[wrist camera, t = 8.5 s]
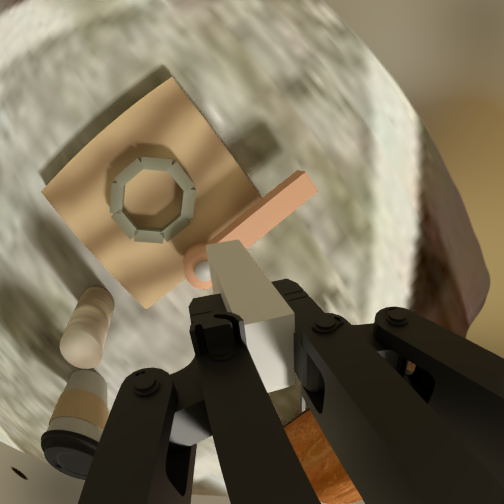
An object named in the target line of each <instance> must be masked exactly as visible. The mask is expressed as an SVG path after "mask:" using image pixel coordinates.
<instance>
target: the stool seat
mask: <svg viewBox="0 0 504 504" xmlns="http://www.w3.org/2000/svg"><path fill="white" fill-rule="evenodd" d="M41 192H42V193H43V195H44V196H45V197H46V199H47V200H48V201H49V202H50V204H51V205H52V206H53V208H54V209H55V210H56V211H57V213H58V214H59V215H60V216H61V217H62V219H63V220H64V221H65V222H66V224H67V225H68V226H69V227H70V228H71V230H72V231H73V232H74V233H75V234H76V235H77V237H78V238H79V239H80V240H81V241H82V242H83V244H84V245H85V246H86V247H87V248H88V249H89V250H90V251H91V253H92V254H93V255H94V256H95V257H96V258H97V259H98V260H99V261H100V263H101V264H102V265H103V266H104V267H105V268H106V269H107V270H108V271H109V272H110V273H111V274H112V275H113V276H114V277H115V278H116V280H117V281H118V282H119V283H120V284H121V285H122V286H123V287H124V288H125V289H126V290H127V291H128V292H129V293H130V294H131V295H132V296H133V297H134V298H135V299H136V300H137V301H138V302H139V303H140V304H141V305H142V306H143V307H144V308H145V309H146V310H147V309H148V308H149V307H150V306H152V305H153V304H154V303H155V302H157V301H158V300H159V299H160V298H161V297H163V296H164V295H165V294H166V293H168V292H169V291H170V290H171V289H173V288H174V287H175V286H176V285H178V284H179V283H180V282H181V281H183V280H184V279H185V278H186V277H185V274H184V267H183V258H184V255H185V253H186V251H187V250H188V249H189V248H190V247H191V246H193V245H195V244H198V243H208V242H209V241H210V240H211V239H213V238H214V237H215V236H216V235H217V234H219V233H220V232H221V231H222V230H224V229H225V228H226V227H227V226H228V225H230V224H231V223H232V222H233V221H235V220H236V219H237V218H238V217H239V216H241V215H242V214H243V213H244V212H246V211H247V210H248V209H249V208H251V207H252V206H253V205H254V204H256V203H257V202H258V201H259V200H261V199H262V197H261V196H260V194H259V193H258V192H257V190H256V189H255V187H254V186H253V184H252V183H251V182H250V180H249V179H248V177H247V176H246V175H245V173H244V172H243V170H242V169H241V168H240V166H239V165H238V164H237V162H236V161H235V159H234V158H233V157H232V155H231V154H230V153H229V151H228V150H227V148H226V147H225V146H224V144H223V143H222V142H221V140H220V139H219V138H218V136H217V135H216V134H215V132H214V131H213V129H212V128H211V127H210V125H209V124H208V123H207V121H206V120H205V119H204V117H203V116H202V115H201V114H200V112H199V111H198V110H197V108H196V107H195V106H194V104H193V103H192V102H191V100H190V99H189V98H188V96H187V95H186V94H185V93H184V91H183V90H182V89H181V87H180V86H179V85H178V84H177V82H176V81H175V80H174V78H173V77H171V78H169V79H168V80H166V81H165V82H164V83H162V84H161V85H159V86H158V87H157V88H155V89H154V90H152V91H151V92H150V93H148V94H147V95H146V96H144V97H143V98H142V99H140V100H139V101H138V102H136V103H135V104H134V105H133V106H131V107H130V108H129V109H127V110H126V111H125V112H124V113H123V114H121V115H120V116H119V117H118V118H116V119H115V120H114V121H113V122H112V123H111V124H109V125H108V126H107V127H106V128H105V129H104V130H102V131H101V132H100V133H99V134H98V135H97V136H96V137H95V138H94V139H92V140H91V141H90V142H89V143H88V144H87V145H86V146H85V147H84V148H83V149H82V150H81V151H80V152H79V153H78V154H77V155H76V156H74V157H73V158H72V159H71V160H70V161H69V162H68V163H67V164H66V166H65V167H64V168H63V169H62V170H61V171H60V172H59V173H58V174H57V175H56V176H55V177H54V178H53V179H52V180H51V181H50V182H49V184H48V185H47V186H46V187H45V188H44V189H43V190H42V191H41Z"/></svg>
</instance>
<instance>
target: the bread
mask: <svg viewBox="0 0 504 504" xmlns="http://www.w3.org/2000/svg"><path fill="white" fill-rule="evenodd" d="M284 430H285V432H286V434H287V436H288V438H289V440H290V442H291V444H292V446H293V449H294V451H295V453H296V455H297V457H298V459H299V461H300V463H301V465H302V467H303V469H304V471H305V473H306V475H307V477H308V479H309V481H310V483H311V485H312V487H313V489H314V491H315V493H316V495H317V497H318V499H319V501H320V502H323V503H327V504H341V503H344V504H349V503H353V502H357V501H359V500H361V499H362V497H361V496H360V494H359V492H358V491H357V489H356V488H355V486H354V484H353V483H352V481H351V479H350V478H349V476H348V474H347V473H346V471H345V469H344V468H343V466H342V464H341V462H340V461H339V459H338V457H337V456H336V454H335V452H334V451H333V449H332V447H331V445H330V444H329V442H328V440H327V439H326V437H325V435H324V433H323V432H322V430H321V428H320V427H319V425H318V423H317V421H316V420H315V418H314V416H313V414H312V413H311V411H310V410H308V411H307V412H305V413H304V414H302V415H301V416H299V417H298V418H297V419H295V420H294V421H292V422H291V423H290V424H288V425H287V426H285V427H284Z"/></svg>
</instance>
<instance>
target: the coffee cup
mask: <svg viewBox="0 0 504 504" xmlns="http://www.w3.org/2000/svg"><path fill="white" fill-rule="evenodd" d="M108 417H109V412H108V408H107V384H106V382H105V380H104V379H103V378H102V377H101V376H100V375H99V374H98V373H96V372H94V371H91V370H86V369H81V370H77V371H75V372H73V373H72V375H71V376H70V379H69V381H68V383H67V385H66V387H65V389H64V391H63V393H62V394H61V396H60V398H59V400H58V402H57V405H56V407H55V409H54V412H53V414H52V417H51V419H50V421H49V427H48V430H47V432H45V433H44V434H43V435H42V437H41V447H42V450H43V452H44V455H45V458H46V460H47V461H48V462H49V463H50V464H51V465H52V466H53V467H54V468H55V469H57V470H59V471H60V472H62V473H64V474H66V475H69V476H71V477H74V478H78V479H83V480H86V477H87V474H88V471H89V469H90V466H91V463H92V460H93V457H94V454H95V451H96V449H97V446H98V443H99V440H100V438H101V435H102V432H103V430H104V427H105V424H106V422H107V419H108Z"/></svg>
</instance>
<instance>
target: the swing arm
mask: <svg viewBox="0 0 504 504" xmlns="http://www.w3.org/2000/svg"><path fill="white" fill-rule="evenodd" d="M316 192H318V190H317V188H316V187H315V185H314V184H313V182H312V181H311V179H310V178H309V176H308V174H307V173H306V172H304V171H299V170H297V171H296V172H295V173H293V174H292V175H291V176H290V177H288V178H287V179H286V180H284V181H283V182H282V183H281V184H279V185H278V186H277V187H276V188H274V189H273V190H272V191H271V192H269V193H268V194H267V195H266V196H264V197H263V198H262V199H261V200H259V201H258V202H257V203H256V204H254V205H253V206H252V207H251V208H249V209H248V210H247V211H246V212H244V213H243V214H242V215H241V216H239V217H238V218H237V219H236V220H235V221H233V222H232V223H231V224H230V225H228V226H227V227H226V228H225V229H224V230H222V231H221V232H220V233H219V234H217V235H216V236H215V237H214V238H213V239H211V240H210V241H209V242H208V243H198V244H195V245H193V246H191V247H190V248H189V249H188V250H187V251H186V253H185V255H184V258H183V267H184V274H185V277H186V279H187V281H188V282H189V283H190V284H191V285H192V286H194V287H196V288H199V289H209V288H212V282H211V276H210V269H209V263H208V257H207V250H206V245H209V244H215V243H220V242H226V241H232V240H238V239H239V241H240V242H241V243H242V245H243V246H244V247H245V248H246V250H247V249H248V248H249V247H250V246H251V245H253V244H254V243H255V242H256V241H258V240H259V239H260V238H261V237H262V236H264V235H265V234H266V233H267V232H269V231H270V230H271V229H272V228H273V227H275V226H276V225H277V224H278V223H280V222H281V221H282V220H283V219H285V218H286V217H287V216H288V215H289V214H291V213H292V212H293V211H294V210H296V209H297V208H298V207H299V206H300V205H302V204H303V203H304V202H305V201H307V200H308V199H309V198H310V197H312V196H313V195H314V194H315V193H316Z"/></svg>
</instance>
